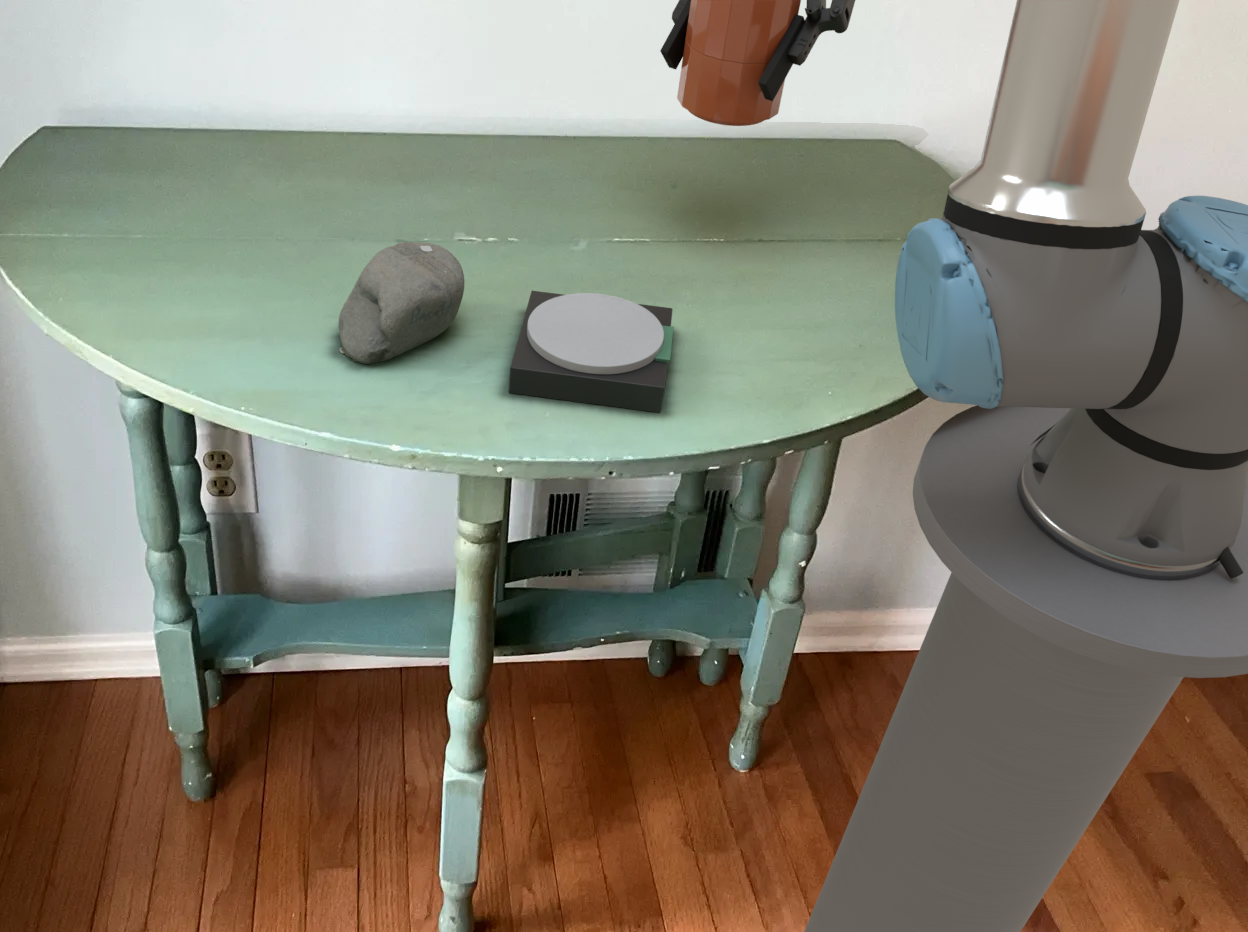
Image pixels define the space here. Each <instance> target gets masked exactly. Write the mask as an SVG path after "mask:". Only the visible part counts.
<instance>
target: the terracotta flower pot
mask: <svg viewBox="0 0 1248 932" xmlns="http://www.w3.org/2000/svg"><path fill="white" fill-rule="evenodd" d="M801 3H802V0H691V4H690V11H689V18H688V25H687V32H686V40H685V46H684V53H683V58H682V59H681V66H680V67H681V69H680V76H679V82H678V88H677V96H676V99H677V101H678V102H679V105H681V107H682V108H683V109H685V110H687V111H688V112H689V113H690V114H691V115H693V116H694V117H696V118H698V119H699V120H702V121H706V122H708V123H712V124H716V125H722V126H728V127H729V126H730V127H747V126H753V125H757V124H760V123H763V122H765V121H767V120H768V121H769V120H771V119H772V118H773V117H775V116H777V115H778V114H779V111H780V108H781V107H780V106H781V101H782V96H783V91H784V87H785V81H786V79H785V80H784V82H783V83H782V85H781V87H780V89H779V91H778V93H777V94H776V96H775V98H774V100H773V101H770V100H767V99H765V97H764V95H763V93H762V90H761V88H760V86H759V83H758V82H759V80H760V78H761V77H762V75H763V73H764V71H765V69H766V67H767V66H768V64H769V62H770V60H771V58H772V57H773V55H774V53H775V51H776V49H777V47H778V46H779V44H780V42H781V40H782V38H783V36H784V35H785V33H786V31H787V29H788V27H789V25H790V24H791V22H792V20H793V18H794V16H795V14H797V15H799V12H800V8H801Z"/></svg>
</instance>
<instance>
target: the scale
mask: <svg viewBox="0 0 1248 932" xmlns="http://www.w3.org/2000/svg"><path fill="white" fill-rule="evenodd" d="M672 319H673V307H666V306H658V305H650V304H643V303H637V302H634V301H631V300H629V299H626V298H624V297H620V296H615V295H611V294H605V293H596V292H595V293H594V292H577V293H568V294H565V293H554V292H546V291H540V290H531V292H530V295H529V298H528V302H527V306H526V309H525V313H524V316H523V321H522V324H521V328H520V330H519V335H518V339H517V342H516V345H515V349H514V352H513V356H512V360H511V364H510V366H509V381H508V393H509V394H516V395H523V396H524V395H525V396H532V397H538V398H545V399H555V400H560V401H562V400H563V401H570V402H577V403H584V404H591V405H600V406H606V407H614V408H622V409H629V410H636V411H645V412H651V413H652V412H653V413H661V412H662V407H663V401H664V397H665V390H666V381H667V379H666V378H667V369H668V364H670V363H671V359H672V358H671V357H672V348H673V347H672V346H673V339H674V326H672Z"/></svg>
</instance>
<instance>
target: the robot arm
mask: <svg viewBox="0 0 1248 932" xmlns="http://www.w3.org/2000/svg"><path fill="white" fill-rule="evenodd" d="M855 3H856V0H831V3H830V7H827V0H806V7H805V8H804V11H805V15H806V17H804V16H803V15H800V14H798V15H797V14H795V16H794V18H793V20H792V22H791V24H790V25H789V27H788V29H787V31H786V33H785V35H784V36H783V38H782V40H781V42H780V44H779V46H778V47H777V49H776V51H775V53H774V55H773V57H772V58H771V60H770V62H769V64H768V66H767V67H766V69H765V71H764V73H763V75H762V77H761V78H760V80H759V82H758V83H759V86H760V88H761V90H762V93H763V95H764V97H765V99H767V100H770V101H773V100H774V98H775V96H776V94H777V93H778V91H779V89H780V87H781V85H782V83H783V82H784V80H785V81H786V78H787V76H788V74H789V72H790V70H791V69H792V67H793V65H796V66H800V67H801V66H802V65H803V64H804V63H805V62H806V60H807V58H808V56H809V54H810V53H811V51H812V50H813V47H814V45H815V44H816V42H817V40H818V39H819V37H820V36H821V35H822V33H823V34H824V33H825V32H831V31H833V32H835V33H836V34H843V33H845V32H846V31H847V30H848V28H849V25H850V21H851V17H852V14H853V12H854V11H853V10H854V7H855ZM1179 3H1180V0H1016V2H1015V7H1014V12H1013V15H1012V20H1011V25H1010V29H1009V32H1008V33H1009V34H1008V38H1007V41H1006V47H1005V51H1004V55H1003V58H1002V64H1001V69H1000V73H999V77H998V82H997V86H996V90H995V95H994V99H993V104H992V108H991V112H990V117H989V121H988V125H987V130H986V135H985V139H984V143H983V148H982V152H981V155H980V156H981V157H980V160H979V161H978V162H977V164H976V165H975V166H974V167H973V168H971V169H970V170H969V171H968V172H966V173H965V174H963V175H962V176H960V177H958V178H957V179H956V180H955V181H953V182H952V183H951V184H950V185H949V186H948V190H947V196H946V200H945V205H944V209H943V213H942V217H941V218H936V217H934V218H928V219H927V220H925V221H922V222H918V223H917V224H915V225H914V226H913V227H912V228H911V229H910V230H909V232H908V233H907V235H906V241H905V242H904V243H903V244H902V247H901V250H900V252H899V256H898V261H897V266H896V274H895V283H894V285H895V286H894V315H895V326H896V334H897V341H898V343H899V350H900V354H901V357H902V361H903V363H904V366H905V368H906V370H907V373H908V375H909V377H910V378H911V380H912V382H913V384H914V385H915V386H916V388H918V389H919V390H920V392H921V393H923V395H925V396H926V397H928V398H930V399H932V400H934V401H937V402H941V403H950V404H960V405H971V406H977V405H978V406H980V407H981V408H987V409H992V408H995V407H1039V408H1071V409H1070V410H1069V411H1068V412H1067V413H1066V414H1065V415H1064V416H1063V417H1062V418H1061V419H1060V420H1059V421H1058V422H1057V423H1056V424H1055V425H1054V426H1052V427H1051V428H1050V429H1048V430H1047V431H1046V432H1044V433H1043V434H1042V435H1040V436H1039V437H1038V438H1037V439H1036V440H1035V441H1034V442H1033V443H1035V442H1036V441H1037V440H1039V439H1040V438H1041V437H1043V436H1044V435H1045V434H1046V435H1045V436H1044V437H1043V438H1042V439H1041V440H1040V441H1039V442H1038V443H1037V444H1036V445H1035V446H1034V448H1033V449H1032V451H1031V452H1030V454H1029V455H1028V457H1027V458H1026V460H1025V462H1024V465H1023V467H1022V469H1021V472H1020V474H1019V477H1018V482H1017V491H1018V496H1019V499H1020V502H1021V504H1022V506H1023V508H1024V510H1025V511H1026V513H1027V515H1028V516H1029V517H1030V519H1031V520H1032V521H1033V522H1034V523H1035V525H1036V526H1037V527H1038V528H1039V529H1040V530H1041V531H1042V532H1044V533H1045V534H1046V535H1047V536H1048V537H1049V538H1051V539H1052V540H1053V541H1054V542H1056V543H1057V544H1059V545H1060V546H1062V547H1063V548H1065V549H1066V550H1068V551H1070V552H1071V553H1073V554H1075V555H1077V556H1079V557H1080V558H1082V559H1084V560H1087V561H1089V562H1091V563H1093V564H1096V565H1098V566H1101V567H1103V568H1106V569H1109V570H1112V571H1115V572H1118V573H1122V574H1126V575H1130V576H1135V577H1140V578H1146V579H1155V580H1180V579H1188V578H1193V577H1197V576H1200V575H1203V574H1206V573H1208V572H1210V571H1212V570H1213V569H1215V568H1216V567H1217V566H1219V565H1220V564H1222V566H1223V568H1224V569H1225V571H1226V572H1227V574H1228V576H1229V577H1230V578H1231V579H1232V578H1235V577H1237V576H1239V575H1241V574H1243V573H1244V572H1243V571H1242V569H1241V567H1240V566H1239V564H1238V563H1237V561H1236V559H1235V558H1234V556H1233V554H1232V553H1231V551H1230V549H1231V548H1232V546H1233V544H1234V543H1235V541H1236V537H1237V535H1238V532H1239V529H1240V526H1241V520H1242V513H1243V506H1244V498H1245V491H1246V484H1247V476H1248V204H1246V203H1242V202H1239V201H1235V200H1232V199H1231V200H1230V199H1226V198H1222V197H1215V196H1208V195H1187V196H1183V197H1180V198H1178V199H1177V200H1175V201H1172V202H1171V203H1170V204H1169V205H1168V206H1167V208H1166V209H1165V210H1164V211H1163V212H1161V213H1160V214H1159V216H1158V219H1157V220H1158V226H1157V227H1156V228H1154V229H1142V228H1143V226H1144V221H1145V218H1146V215H1147V209H1146V208H1145V206H1144V204H1143V203H1142V202H1141V200H1140V199H1139V197H1138V195H1137V194H1136V193H1135V191H1134V189H1133V188H1132V187H1131V184H1130V181H1129V177H1130V173H1131V170H1132V167H1133V163H1134V160H1135V157H1136V152H1137V149H1138V146H1139V142H1140V139H1141V137H1142V132H1143V128H1144V125H1145V121H1146V118H1147V114H1148V112H1149V108H1150V104H1151V101H1152V97H1153V94H1154V90H1155V86H1156V84H1157V80H1158V77H1159V74H1160V69H1161V66H1162V63H1163V59H1164V55H1165V51H1166V49H1167V45H1168V42H1169V38H1170V34H1171V31H1172V28H1173V25H1174V21H1175V17H1176V14H1177V10H1178V7H1179ZM690 4H691V0H678V2H677V3H676V5H675V7H674V9H673V10H672V13H671V20H672V22H673V26H672V28H671V30H670V31H669V34H668V35H667V37H666V40H665V41H664V43H663V45H662V46H661V49H660V50H659V52H660V53H661V56H662V57H663V59H664V61H665V62H666V65H667V66H668V68H669V69H672V70H677V69H678V67H679V65H680V63H681V62H682V60H683V53H684V46H685V40H686V32H687V25H688V18H689V11H690ZM784 83H785V82H784ZM1033 443H1032V444H1033ZM1032 444H1031V445H1032ZM1031 445H1030V446H1031Z"/></svg>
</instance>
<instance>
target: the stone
mask: <svg viewBox="0 0 1248 932" xmlns="http://www.w3.org/2000/svg"><path fill="white" fill-rule="evenodd" d="M358 276H359V277H358V278H357V280H356V282H355V284H354V286H353V288H352V290H351V291H350V293H349V295H348V296H347V299H346V301H345V302H344V304H343V305H342V307H341V310H340V312H339V316H338V323H337V324H338V330H339V339H340V342H341V345H342V346H341V347H339V352H340V353H341V354H345V355H346V357H347V358H349V359H351V360H353V362H354V363H360V364H363V365H368V364H369V365H370V364H376V363H379V362H386V361H388V360H391V359H394V358H396V357H398V356H401V355H402V354H404V353H406V352H408V351H410V350H412V349H415V348H416V347H419V346H421V345H423V344H425V343H428V342H429V341H431V340H433V339H434V338H436V337H438V336H439V335H441V334H442V333H444V332H445V331H446V330H447V329H448V328H449V327H450V326H451V325H452V323H453V322H454V320H455V319H456V317H457V315H458V312H459V310H460V306H461V304H462V301H463V296H464V293H465V274H464V270H463V267H462V265H461V263H460V261H459V259H458V258H457V257H456V255H454V254H453V253H452V252H451V251H450V250H448V249H447V248H445V247H443V246H441V245H439V244H435V243H431V242H422V241H404V242H398V243H396V244H394V245H391V246H387V247H385V248H383V249H381V250H379V251H378V252H376V254H375V255H374V256H372V258H371V259H370V260H369V261H368V262H367V264H366V265H365V266H364V268H363V270H362V271H361V273H360V274H359V275H358Z"/></svg>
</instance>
